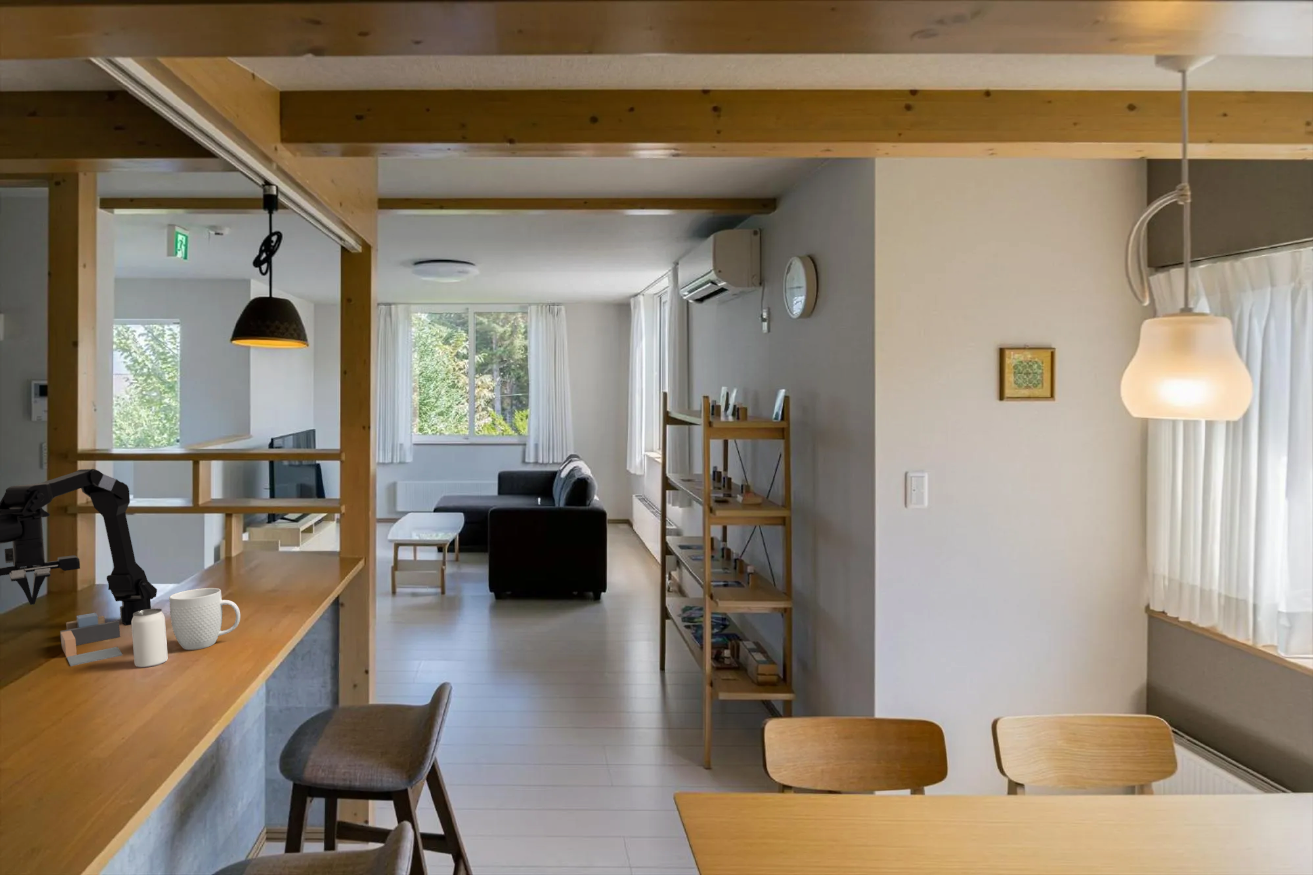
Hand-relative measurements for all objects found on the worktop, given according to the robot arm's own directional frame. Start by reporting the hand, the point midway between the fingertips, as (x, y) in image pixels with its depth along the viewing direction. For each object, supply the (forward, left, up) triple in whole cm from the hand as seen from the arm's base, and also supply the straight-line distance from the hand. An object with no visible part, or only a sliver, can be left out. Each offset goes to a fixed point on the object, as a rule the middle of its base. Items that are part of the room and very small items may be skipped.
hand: (32, 604), depth 187 cm
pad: (-10, +8, -14) cm, 19 cm away
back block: (-11, -17, -14) cm, 25 cm away
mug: (-31, +18, -14) cm, 39 cm away
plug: (-11, -13, -14) cm, 22 cm away
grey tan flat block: (-11, -2, -13) cm, 18 cm away
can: (-19, +24, -14) cm, 34 cm away
